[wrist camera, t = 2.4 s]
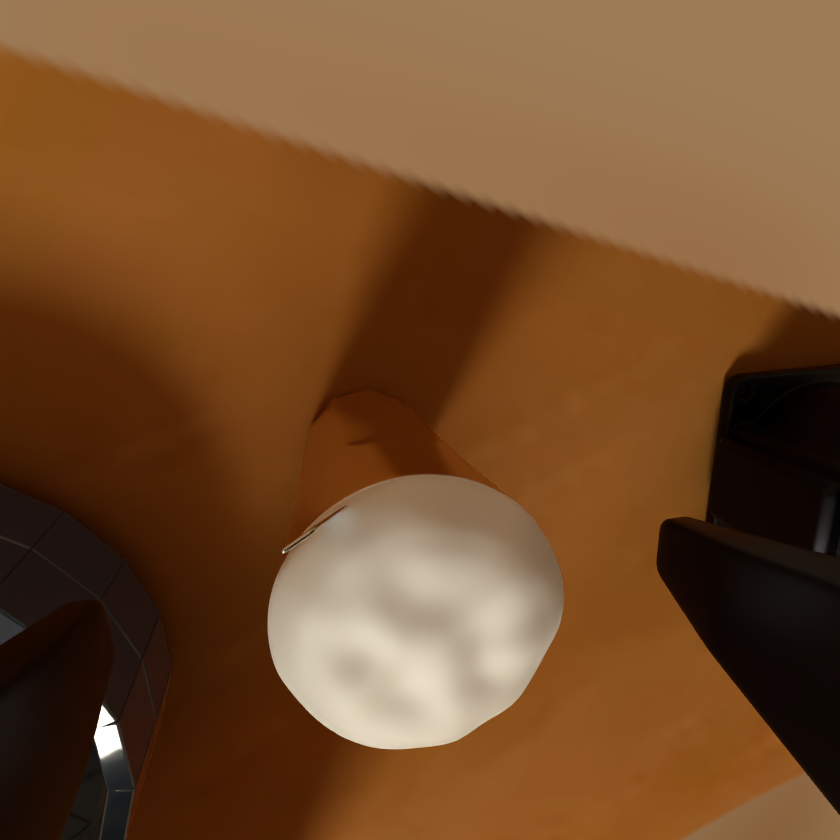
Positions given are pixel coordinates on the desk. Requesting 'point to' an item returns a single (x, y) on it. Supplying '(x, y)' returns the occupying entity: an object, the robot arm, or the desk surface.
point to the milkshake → (406, 583)
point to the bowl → (132, 639)
